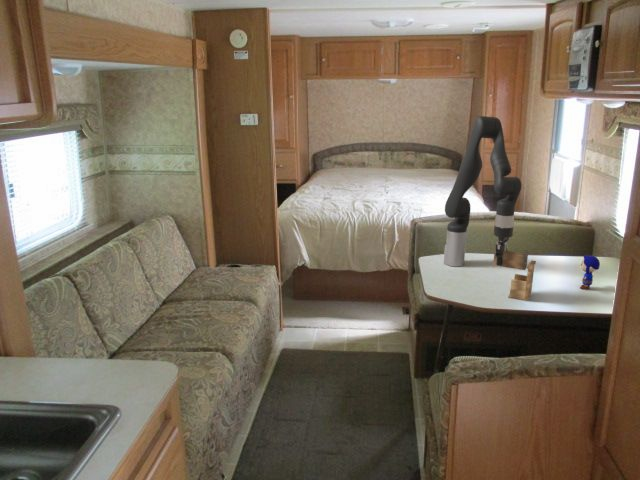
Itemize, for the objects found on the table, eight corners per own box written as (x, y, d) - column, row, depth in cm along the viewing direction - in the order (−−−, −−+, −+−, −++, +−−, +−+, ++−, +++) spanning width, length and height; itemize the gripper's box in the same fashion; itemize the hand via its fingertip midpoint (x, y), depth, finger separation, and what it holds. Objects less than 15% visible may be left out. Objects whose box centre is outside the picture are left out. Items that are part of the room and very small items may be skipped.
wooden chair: (507, 297, 229) (511, 264, 224) (512, 290, 236) (515, 257, 232) (527, 301, 225) (531, 267, 221) (532, 294, 232) (535, 260, 228)
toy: (580, 282, 246) (585, 250, 241) (599, 286, 241) (603, 253, 237) (573, 290, 236) (578, 258, 232) (592, 294, 231) (597, 261, 227)
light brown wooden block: (493, 265, 231) (494, 250, 229) (495, 262, 234) (496, 247, 233) (524, 270, 225) (526, 254, 223) (526, 267, 228) (528, 252, 226)
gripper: (498, 219, 234) (495, 257, 239) (490, 227, 223) (487, 267, 227) (516, 222, 231) (513, 260, 236) (509, 229, 219) (505, 270, 224)
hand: (500, 263), depth 231 cm, fingers closed on light brown wooden block, 4 cm apart
